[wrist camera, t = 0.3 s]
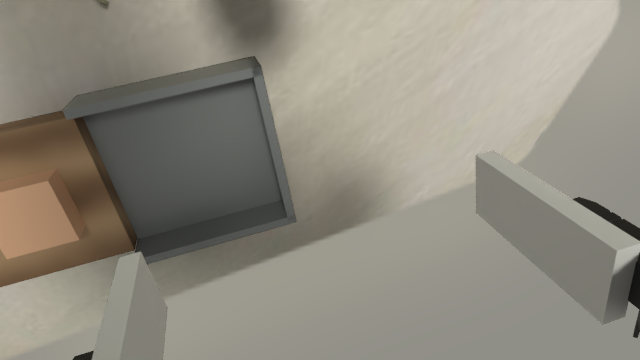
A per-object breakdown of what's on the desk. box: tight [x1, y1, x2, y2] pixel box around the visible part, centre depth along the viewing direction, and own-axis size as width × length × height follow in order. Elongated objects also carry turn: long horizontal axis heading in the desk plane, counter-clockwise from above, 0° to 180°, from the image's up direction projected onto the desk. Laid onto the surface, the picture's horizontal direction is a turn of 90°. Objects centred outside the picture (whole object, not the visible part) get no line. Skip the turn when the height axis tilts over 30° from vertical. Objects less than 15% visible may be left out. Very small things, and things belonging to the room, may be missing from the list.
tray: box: [62, 56, 296, 264], centre depth 41 cm, size 16×16×4 cm
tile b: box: [0, 168, 86, 259], centre depth 37 cm, size 6×6×2 cm
